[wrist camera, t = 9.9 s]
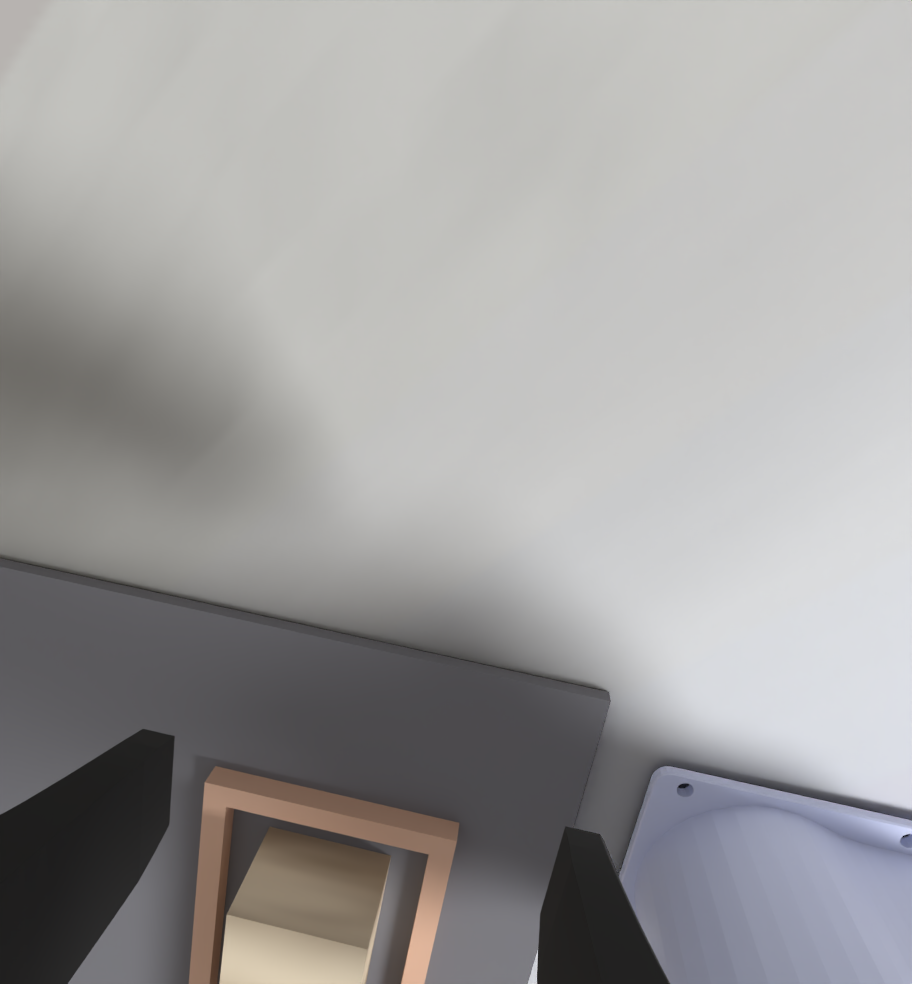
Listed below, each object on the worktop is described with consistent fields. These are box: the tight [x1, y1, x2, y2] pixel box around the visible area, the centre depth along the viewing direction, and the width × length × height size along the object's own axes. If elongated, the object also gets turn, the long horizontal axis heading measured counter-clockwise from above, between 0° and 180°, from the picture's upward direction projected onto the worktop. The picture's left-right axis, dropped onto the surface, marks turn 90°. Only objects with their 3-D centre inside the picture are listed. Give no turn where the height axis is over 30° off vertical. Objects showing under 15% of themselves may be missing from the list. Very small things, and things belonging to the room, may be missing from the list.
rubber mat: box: [0, 558, 610, 984], centre depth 25 cm, size 24×20×1 cm
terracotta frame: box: [189, 766, 459, 984], centre depth 25 cm, size 9×14×1 cm, turn 170°
